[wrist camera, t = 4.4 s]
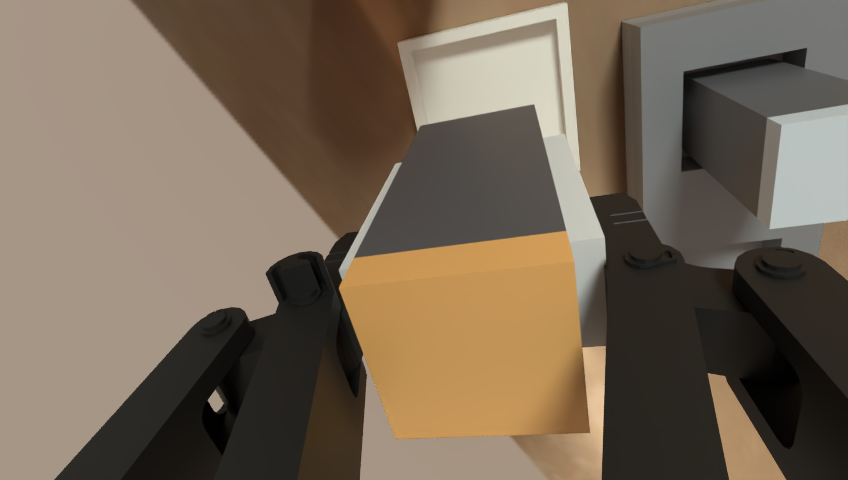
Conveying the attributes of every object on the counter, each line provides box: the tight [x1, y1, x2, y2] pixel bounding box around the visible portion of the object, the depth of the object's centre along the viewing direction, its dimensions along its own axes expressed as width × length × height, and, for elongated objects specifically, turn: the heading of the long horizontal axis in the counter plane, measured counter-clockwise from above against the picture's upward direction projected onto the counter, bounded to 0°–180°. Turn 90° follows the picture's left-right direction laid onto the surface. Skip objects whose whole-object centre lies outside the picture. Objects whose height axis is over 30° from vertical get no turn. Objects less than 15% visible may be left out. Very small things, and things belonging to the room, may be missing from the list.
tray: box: [397, 2, 580, 170], centre depth 28 cm, size 9×9×2 cm
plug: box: [339, 104, 590, 439], centre depth 13 cm, size 4×4×10 cm
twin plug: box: [682, 58, 848, 229], centre depth 21 cm, size 4×4×10 cm
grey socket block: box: [622, 0, 848, 269], centre depth 27 cm, size 20×9×4 cm, turn 13°
